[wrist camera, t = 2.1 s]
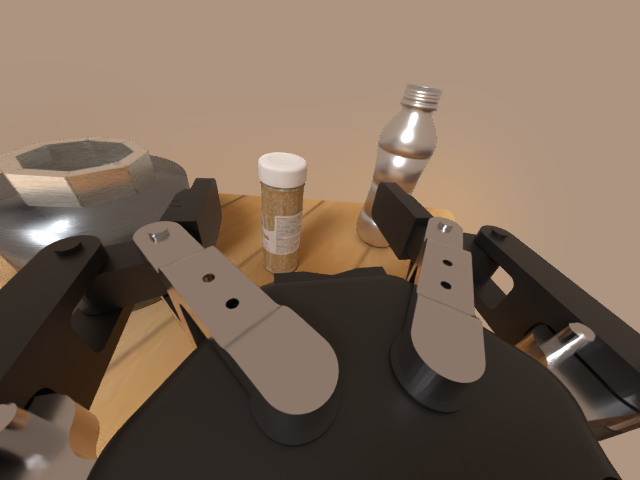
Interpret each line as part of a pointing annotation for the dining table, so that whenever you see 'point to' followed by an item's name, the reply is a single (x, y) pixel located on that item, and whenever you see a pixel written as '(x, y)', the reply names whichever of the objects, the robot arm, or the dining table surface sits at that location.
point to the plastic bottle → (402, 152)
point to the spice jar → (281, 209)
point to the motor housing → (81, 194)
